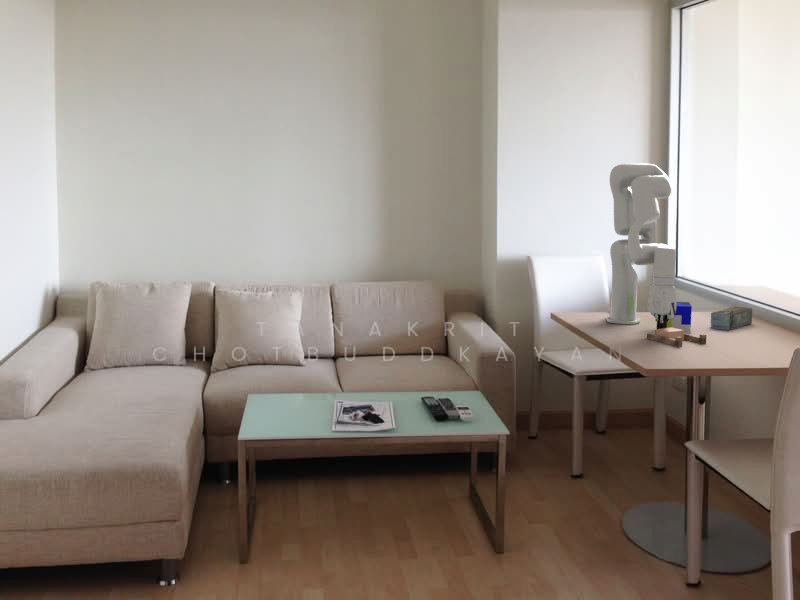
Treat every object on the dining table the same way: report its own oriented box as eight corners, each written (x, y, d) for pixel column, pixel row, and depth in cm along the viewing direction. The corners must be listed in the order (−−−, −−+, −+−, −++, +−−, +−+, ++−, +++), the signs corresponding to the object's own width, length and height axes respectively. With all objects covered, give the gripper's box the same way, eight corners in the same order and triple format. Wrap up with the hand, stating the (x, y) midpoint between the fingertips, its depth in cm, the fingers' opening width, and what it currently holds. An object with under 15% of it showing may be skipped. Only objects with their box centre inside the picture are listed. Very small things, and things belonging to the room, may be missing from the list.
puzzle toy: (690, 334, 345) (691, 306, 343) (661, 332, 347) (662, 305, 345) (687, 329, 354) (689, 302, 353) (659, 328, 356) (660, 301, 355)
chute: (646, 338, 336) (646, 329, 336) (673, 335, 341) (673, 327, 341) (678, 346, 322) (678, 337, 321) (706, 343, 327) (706, 334, 327)
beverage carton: (709, 328, 357) (709, 310, 356) (732, 321, 371) (733, 304, 370) (729, 330, 352) (730, 313, 351) (752, 324, 365) (753, 307, 364)
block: (656, 340, 334) (656, 329, 334) (670, 338, 338) (671, 327, 337) (668, 343, 329) (669, 331, 329) (683, 341, 333) (684, 330, 332)
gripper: (640, 279, 340) (639, 330, 343) (669, 285, 327) (667, 338, 330) (657, 278, 343) (655, 329, 346) (686, 283, 330) (684, 336, 333)
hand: (661, 333), depth 338 cm, fingers closed
